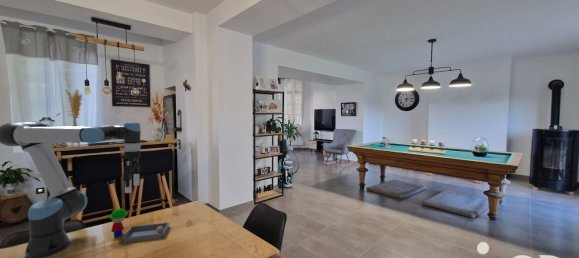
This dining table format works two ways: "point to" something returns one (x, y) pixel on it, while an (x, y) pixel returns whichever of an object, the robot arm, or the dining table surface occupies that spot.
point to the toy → (118, 221)
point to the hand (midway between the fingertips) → (132, 188)
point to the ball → (160, 229)
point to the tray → (144, 232)
